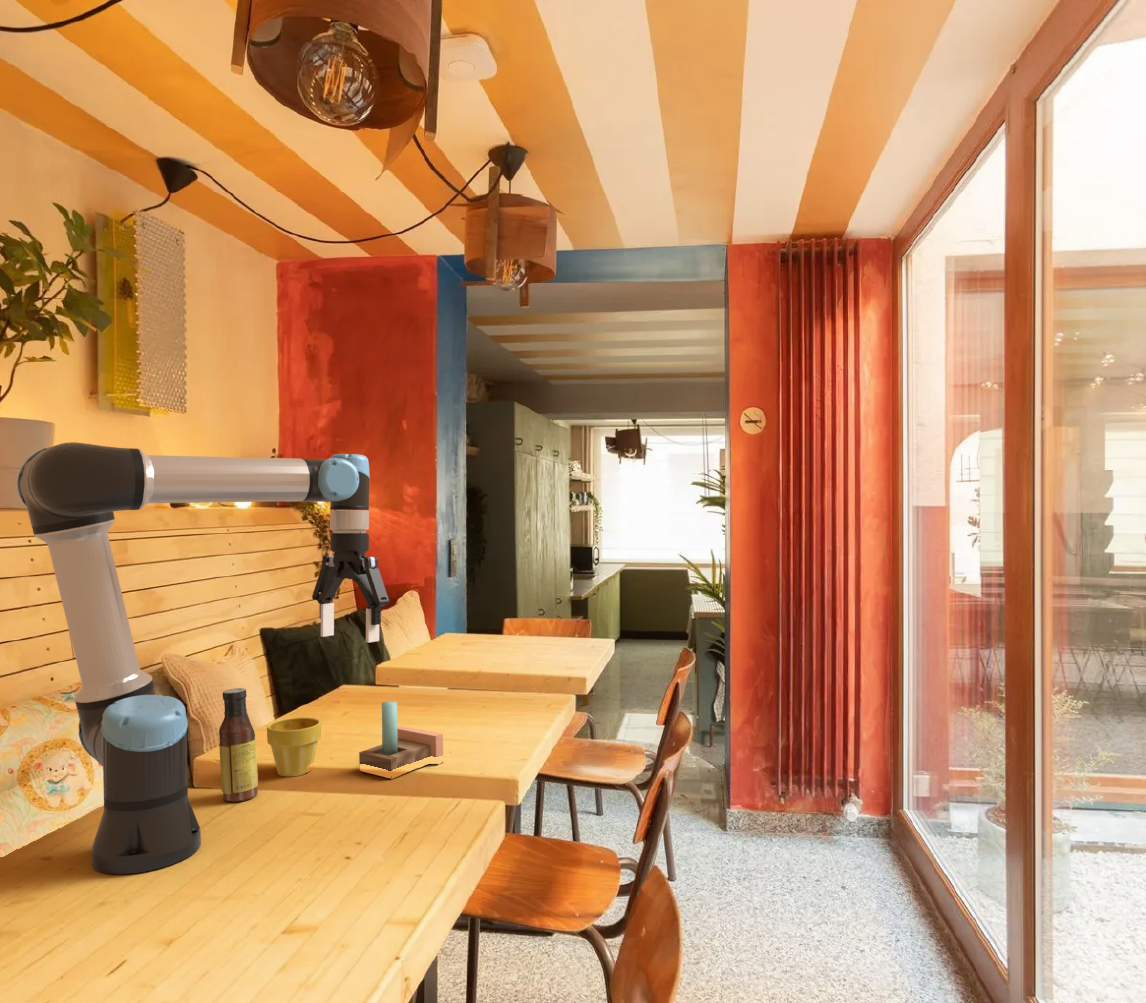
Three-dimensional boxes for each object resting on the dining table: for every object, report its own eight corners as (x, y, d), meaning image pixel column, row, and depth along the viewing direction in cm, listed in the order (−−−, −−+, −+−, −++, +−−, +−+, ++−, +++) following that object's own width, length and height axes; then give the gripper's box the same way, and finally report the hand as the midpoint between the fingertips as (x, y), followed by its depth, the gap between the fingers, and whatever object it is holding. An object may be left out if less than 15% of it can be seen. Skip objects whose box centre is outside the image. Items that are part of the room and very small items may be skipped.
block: (391, 779, 162) (391, 759, 162) (359, 771, 167) (359, 752, 167) (431, 764, 171) (430, 744, 171) (399, 757, 176) (399, 738, 176)
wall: (436, 765, 170) (435, 736, 170) (394, 756, 177) (394, 728, 177) (443, 762, 172) (442, 733, 172) (401, 754, 178) (401, 726, 178)
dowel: (400, 762, 168) (400, 702, 168) (389, 766, 165) (389, 705, 165) (390, 759, 170) (389, 700, 170) (379, 763, 167) (378, 703, 167)
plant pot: (312, 780, 163) (311, 729, 163) (259, 780, 163) (258, 730, 163) (328, 763, 173) (327, 716, 173) (279, 763, 173) (278, 716, 173)
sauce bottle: (264, 791, 156) (262, 686, 156) (248, 804, 150) (245, 693, 150) (231, 791, 157) (228, 686, 157) (213, 803, 151) (211, 693, 151)
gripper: (407, 532, 162) (407, 641, 162) (324, 530, 176) (324, 631, 176) (378, 533, 156) (377, 646, 155) (294, 531, 170) (294, 635, 170)
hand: (349, 638), depth 166 cm, fingers open, 13 cm apart
